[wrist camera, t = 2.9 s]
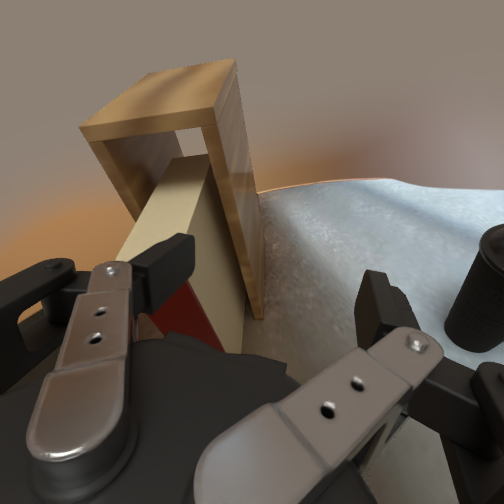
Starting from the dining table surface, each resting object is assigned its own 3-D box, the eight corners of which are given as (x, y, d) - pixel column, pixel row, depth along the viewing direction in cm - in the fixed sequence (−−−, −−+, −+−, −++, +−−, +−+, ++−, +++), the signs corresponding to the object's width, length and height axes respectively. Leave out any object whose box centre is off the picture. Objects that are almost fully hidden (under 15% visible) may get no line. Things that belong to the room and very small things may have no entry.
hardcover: (247, 280, 42) (214, 152, 27) (239, 382, 31) (176, 264, 16) (219, 282, 42) (171, 158, 28) (201, 381, 32) (108, 268, 17)
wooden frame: (265, 243, 47) (235, 57, 28) (263, 319, 36) (212, 105, 17) (211, 247, 48) (148, 73, 29) (194, 321, 38) (77, 126, 19)
